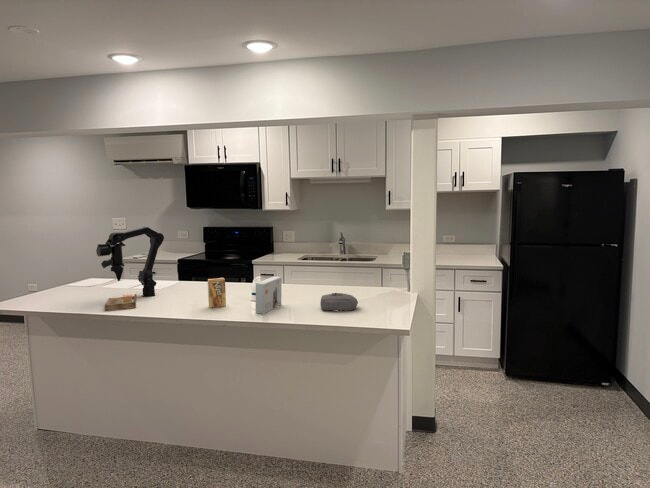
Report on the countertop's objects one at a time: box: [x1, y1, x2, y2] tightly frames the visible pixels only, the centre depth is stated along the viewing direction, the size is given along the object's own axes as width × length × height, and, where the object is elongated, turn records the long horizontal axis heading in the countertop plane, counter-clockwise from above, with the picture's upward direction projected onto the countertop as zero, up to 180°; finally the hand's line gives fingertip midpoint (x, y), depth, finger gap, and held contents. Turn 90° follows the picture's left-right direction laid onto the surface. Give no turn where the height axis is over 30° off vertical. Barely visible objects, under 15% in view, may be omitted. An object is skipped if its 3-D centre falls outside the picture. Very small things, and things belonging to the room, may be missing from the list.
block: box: [122, 294, 133, 302], centre depth 255 cm, size 5×5×3 cm
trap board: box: [104, 293, 138, 312], centre depth 255 cm, size 15×23×3 cm, turn 21°
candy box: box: [207, 277, 227, 309], centre depth 247 cm, size 9×4×15 cm, turn 116°
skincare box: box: [255, 275, 283, 315], centre depth 240 cm, size 21×5×16 cm, turn 160°
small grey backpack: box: [319, 292, 359, 311], centre depth 239 cm, size 15×8×20 cm
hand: (118, 280), depth 263 cm, fingers closed
